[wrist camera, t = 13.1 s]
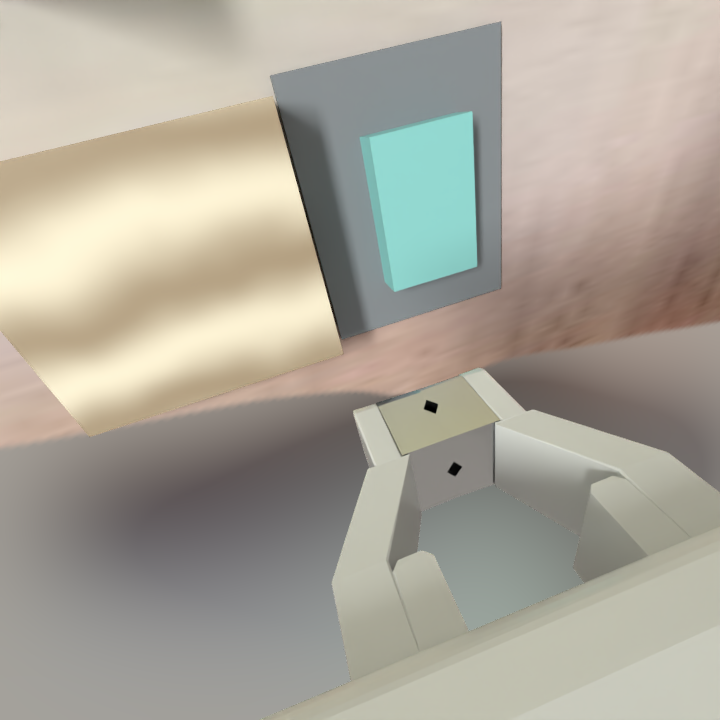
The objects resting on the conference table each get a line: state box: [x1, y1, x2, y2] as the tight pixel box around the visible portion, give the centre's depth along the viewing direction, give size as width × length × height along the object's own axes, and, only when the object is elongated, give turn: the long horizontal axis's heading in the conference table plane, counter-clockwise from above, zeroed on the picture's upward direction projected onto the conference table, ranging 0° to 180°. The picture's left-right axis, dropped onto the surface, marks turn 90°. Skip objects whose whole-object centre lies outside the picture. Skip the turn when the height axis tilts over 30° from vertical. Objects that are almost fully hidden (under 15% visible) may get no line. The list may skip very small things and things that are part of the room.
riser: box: [0, 96, 344, 437], centre depth 22 cm, size 14×16×4 cm
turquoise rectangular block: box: [360, 111, 477, 292], centre depth 24 cm, size 9×6×2 cm, turn 12°
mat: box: [270, 22, 501, 339], centre depth 25 cm, size 16×13×1 cm
